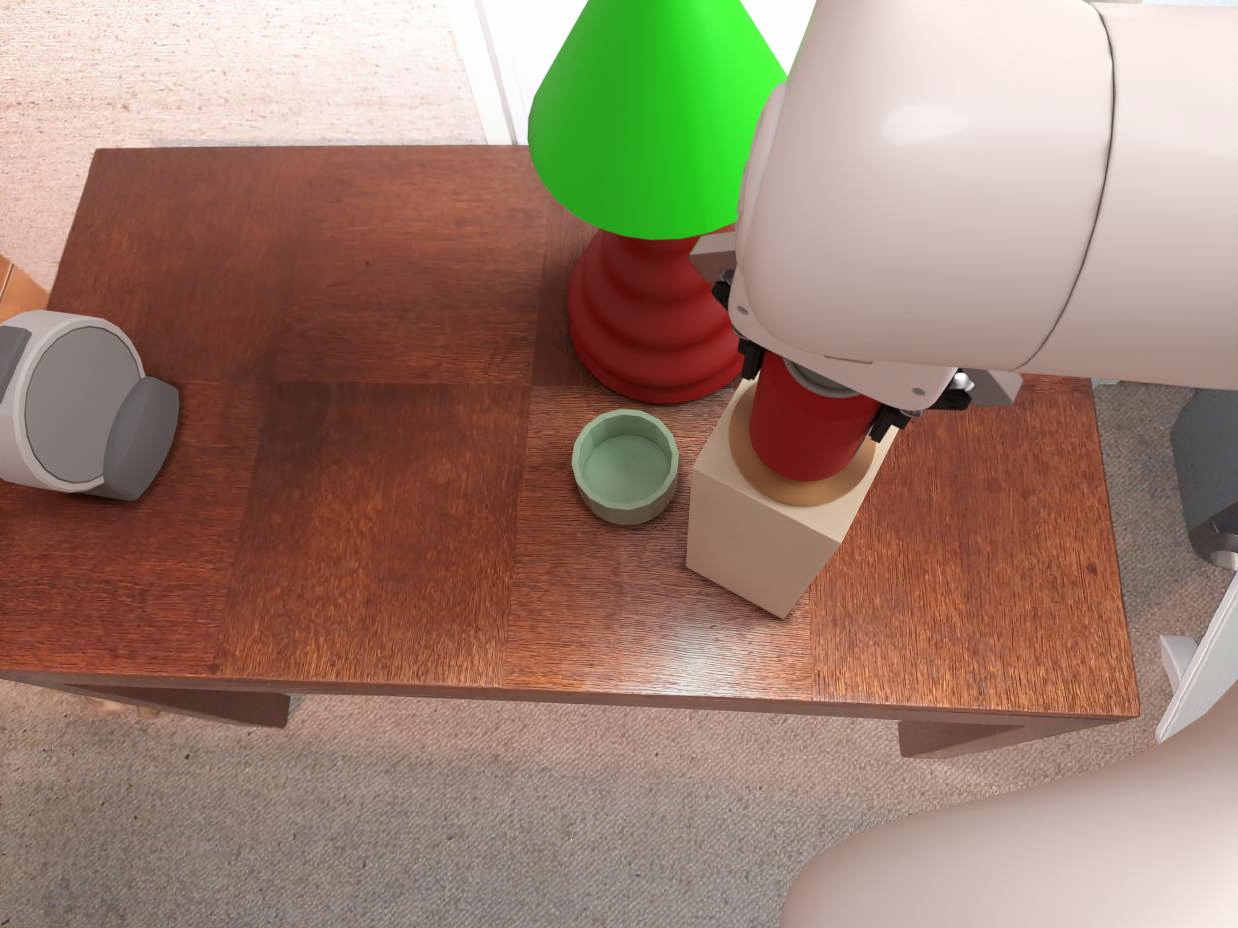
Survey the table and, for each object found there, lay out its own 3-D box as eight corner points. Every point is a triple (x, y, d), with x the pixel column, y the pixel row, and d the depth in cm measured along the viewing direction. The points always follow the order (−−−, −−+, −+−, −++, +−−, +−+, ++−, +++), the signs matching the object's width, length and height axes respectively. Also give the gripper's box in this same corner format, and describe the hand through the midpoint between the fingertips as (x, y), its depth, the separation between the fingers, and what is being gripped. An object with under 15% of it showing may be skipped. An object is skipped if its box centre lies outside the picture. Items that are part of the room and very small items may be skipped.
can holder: (646, 543, 80) (645, 527, 75) (559, 496, 82) (552, 478, 77) (695, 458, 83) (697, 438, 77) (609, 415, 85) (605, 392, 80)
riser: (783, 619, 77) (840, 543, 51) (685, 566, 79) (691, 467, 53) (831, 525, 80) (909, 407, 53) (735, 476, 82) (765, 339, 55)
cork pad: (836, 532, 51) (837, 531, 51) (702, 464, 53) (703, 462, 52) (899, 410, 53) (900, 407, 53) (768, 349, 55) (769, 346, 55)
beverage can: (880, 451, 52) (938, 364, 41) (787, 506, 51) (819, 433, 40) (816, 366, 54) (854, 260, 43) (726, 417, 53) (740, 324, 42)
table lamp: (800, 349, 86) (925, -55, 43) (627, 440, 84) (581, 108, 41) (701, 206, 92) (725, -269, 50) (537, 287, 90) (417, -137, 48)
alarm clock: (108, 360, 90) (-25, 265, 73) (197, 373, 89) (84, 280, 72) (48, 506, 85) (-110, 440, 68) (143, 521, 84) (6, 458, 67)
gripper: (631, 156, 30) (646, 374, 47) (1119, 367, 26) (945, 521, 43) (730, 10, 32) (710, 269, 49) (1196, 187, 28) (1002, 402, 45)
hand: (821, 386), depth 46 cm, fingers closed on beverage can, 6 cm apart
